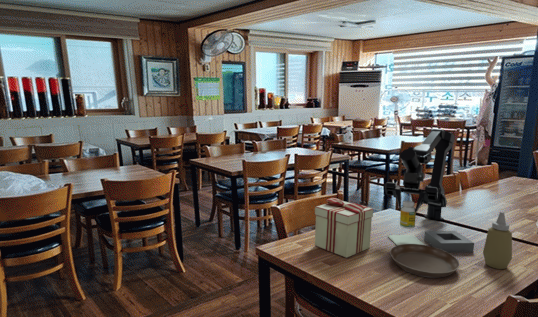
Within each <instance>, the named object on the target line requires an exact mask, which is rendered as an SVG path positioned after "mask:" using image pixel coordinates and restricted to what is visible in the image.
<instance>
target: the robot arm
mask: <svg viewBox="0 0 538 317" xmlns="http://www.w3.org/2000/svg"><path fill="white" fill-rule="evenodd" d="M429 132H430V133H429V134H428V135H427V137H426V138H425V139H424V140H423V141H422V142H421V144H420V145H419V144H418V145H417V146H415V147H414V146H408V148H406V149H404V150H402V151H401V152H400V153H399V158H400V160H401V162H402V165H403V166H404V168H406V170H405V172H404V173H403V180H402V181H403V182H402V186H401V185H397V182H391V181H387V182H386V183H385V184H384V192H385V194H386V195H387V196H393V198H396V201H397V205H398V210H399V211H401V207H402V193H404V194H413V195H418V198H417V201H416V205H415V212H416V213H417V212H418V211H419V209H420V208H421V207H422V206H423V205H427V211H426V213H424V214H423V216H424V217H425V218H426V219H428V220H430V221H443V220H445V218H444V217H442V209H443V208H446V207H447V204H448V200H447V198H446V197H447V196H446V194H445V188H444V186H443V178H444V172H445V167H446V161H447V156H448V155H447V154H448V152H449V151H450V150H451V149H452V148H453V145H454V143H455V142H456V141H455V140H456V135H454V134H453V132H449V131H447V130H445V129H443V128H431V130H430V131H429ZM433 150H435V153H434V158H433V156H432V152H433ZM432 158H433V159H434V160H433V165H432V171H431V177H430V182H429V183H428V184H427V185H425V187H424V189H421V188H420V187H421V183H423V182H424V179H425V172H423V167H424V166H423V165H428V164H429V163H430V162H431V160H432ZM422 164H423V165H422Z"/></svg>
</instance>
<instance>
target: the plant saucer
mask: <svg viewBox="0 0 538 317" xmlns="http://www.w3.org/2000/svg"><path fill="white" fill-rule="evenodd" d="M389 252H390V253H389V254H390V256H391V258H392V261H394V263H395V264H396V265H397V266H398V267H399V268H401V269H402V270H404V271H406V272H407V273H409V274H412V275H415V276H419V277H423V278H431V279H432V278H436V279H439V278H444V277H447V276H450V275H452V274H453V273H455V272H456V271H457V270H458V269H459V267H460V265H461V264H460V261H459V259H458V258H456V257H455V255H453V254H451V253H448V252H446V251H444V250H441V249H438V248H435V247H433V246H431V245H426V244H424V245H421V244H402V245H398V246H397V245H395V246H393V247H391V249H390V251H389Z"/></svg>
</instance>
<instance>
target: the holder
mask: <svg viewBox="0 0 538 317" xmlns="http://www.w3.org/2000/svg"><path fill="white" fill-rule="evenodd" d="M423 239H424V241H425V242H426V243H427V244H429V246H431V247H435V248H438V249H441V250H444V251H446V252H448V253H450V254H451V253H474V248H475V242H473V241H472V240H470V239H469V238H468V237H466V236H465V235H463V234H461V233H459V232H458V231H457V230H425V231H424V237H423Z"/></svg>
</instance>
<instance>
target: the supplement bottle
mask: <svg viewBox="0 0 538 317" xmlns="http://www.w3.org/2000/svg"><path fill="white" fill-rule="evenodd" d="M415 209H416V207H415V202H414V201H412V200H403V202H402V205H401V210H400V213H399V214H400V218H399V219H400V220H399V226H400V227H401V228H403V229H407V230H408V229H409V230H411V229H412V230H413V229H414V228H415V227H416V213H417V212H415Z"/></svg>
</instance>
